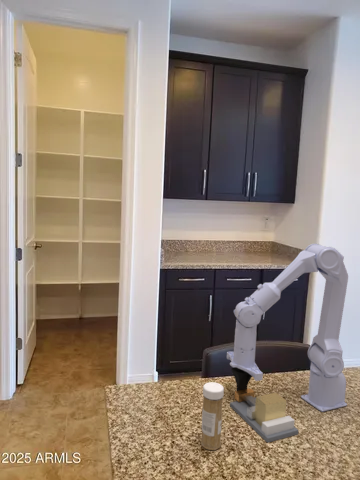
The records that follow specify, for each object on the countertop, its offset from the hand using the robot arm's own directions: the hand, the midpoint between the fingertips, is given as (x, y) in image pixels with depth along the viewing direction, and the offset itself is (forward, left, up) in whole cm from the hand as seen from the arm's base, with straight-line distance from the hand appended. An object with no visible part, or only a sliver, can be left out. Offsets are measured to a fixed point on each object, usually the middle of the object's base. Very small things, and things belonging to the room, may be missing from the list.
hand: (241, 394), depth 98 cm
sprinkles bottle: (+17, +13, -2) cm, 22 cm away
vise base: (0, +9, -2) cm, 10 cm away
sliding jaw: (0, +5, -1) cm, 5 cm away
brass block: (0, +12, -1) cm, 12 cm away
